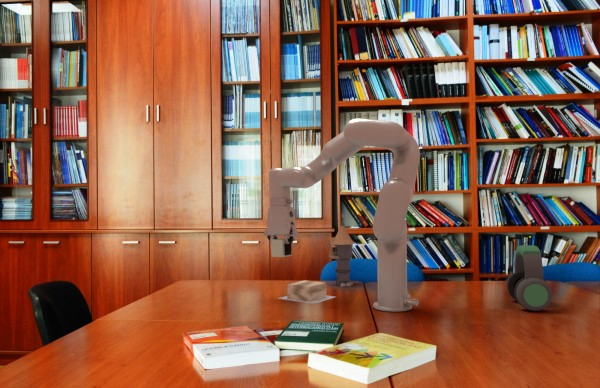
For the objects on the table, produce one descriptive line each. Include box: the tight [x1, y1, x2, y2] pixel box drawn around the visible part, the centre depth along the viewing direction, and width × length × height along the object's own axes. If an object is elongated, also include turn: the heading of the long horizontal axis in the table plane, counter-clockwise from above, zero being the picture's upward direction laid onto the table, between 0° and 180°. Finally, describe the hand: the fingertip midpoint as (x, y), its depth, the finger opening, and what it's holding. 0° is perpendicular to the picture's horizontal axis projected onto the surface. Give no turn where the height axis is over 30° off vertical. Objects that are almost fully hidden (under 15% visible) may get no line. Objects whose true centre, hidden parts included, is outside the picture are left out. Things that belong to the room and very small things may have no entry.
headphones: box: [506, 244, 553, 312], centre depth 165 cm, size 19×11×20 cm, turn 168°
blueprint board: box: [277, 294, 336, 304], centre depth 179 cm, size 16×14×1 cm
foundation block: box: [286, 279, 327, 302], centre depth 179 cm, size 10×10×5 cm
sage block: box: [270, 238, 292, 258], centre depth 177 cm, size 5×5×6 cm
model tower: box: [326, 213, 355, 288], centre depth 208 cm, size 10×11×30 cm
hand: (281, 254), depth 177 cm, fingers closed on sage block, 5 cm apart
